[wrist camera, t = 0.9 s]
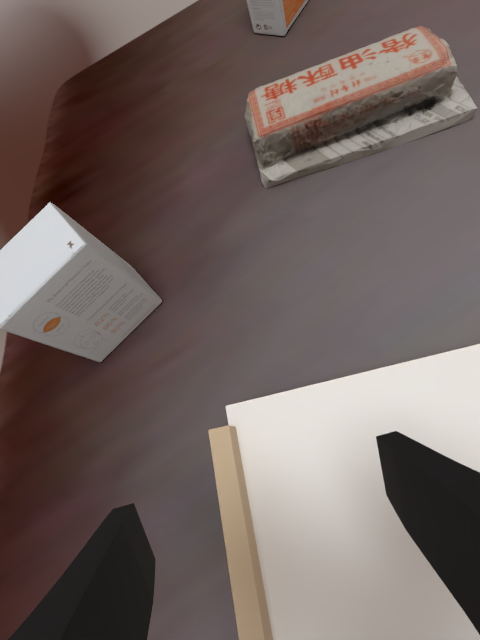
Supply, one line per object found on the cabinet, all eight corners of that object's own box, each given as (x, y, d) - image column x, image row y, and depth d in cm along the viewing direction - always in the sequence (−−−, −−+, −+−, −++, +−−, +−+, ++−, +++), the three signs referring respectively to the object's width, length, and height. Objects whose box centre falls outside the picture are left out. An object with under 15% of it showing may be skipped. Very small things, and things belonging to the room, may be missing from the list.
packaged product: (251, 157, 29) (233, 76, 33) (265, 195, 34) (247, 120, 38) (493, 69, 26) (441, -11, 29) (473, 124, 30) (430, 49, 34)
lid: (749, 629, 14) (806, 655, 12) (257, 671, 17) (247, 695, 16) (569, 324, 18) (591, 310, 17) (216, 410, 22) (204, 406, 21)
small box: (133, 266, 35) (51, 197, 25) (165, 302, 33) (87, 240, 23) (72, 324, 35) (-33, 277, 25) (100, 365, 32) (-6, 329, 23)
